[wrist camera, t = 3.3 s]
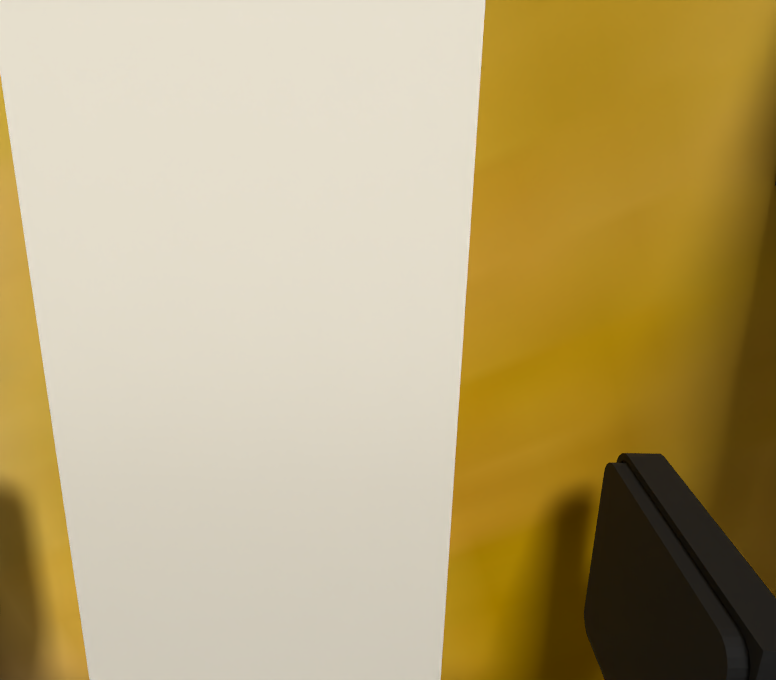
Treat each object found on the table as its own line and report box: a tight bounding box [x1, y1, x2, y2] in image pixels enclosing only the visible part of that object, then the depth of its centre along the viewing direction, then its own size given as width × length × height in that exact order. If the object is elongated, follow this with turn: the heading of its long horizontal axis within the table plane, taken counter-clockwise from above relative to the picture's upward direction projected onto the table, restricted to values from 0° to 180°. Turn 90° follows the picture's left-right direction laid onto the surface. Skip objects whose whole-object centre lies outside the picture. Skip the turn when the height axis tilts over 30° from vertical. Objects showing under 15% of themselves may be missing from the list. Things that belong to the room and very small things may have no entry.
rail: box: [0, 0, 485, 680], centre depth 10 cm, size 16×4×5 cm, turn 178°
